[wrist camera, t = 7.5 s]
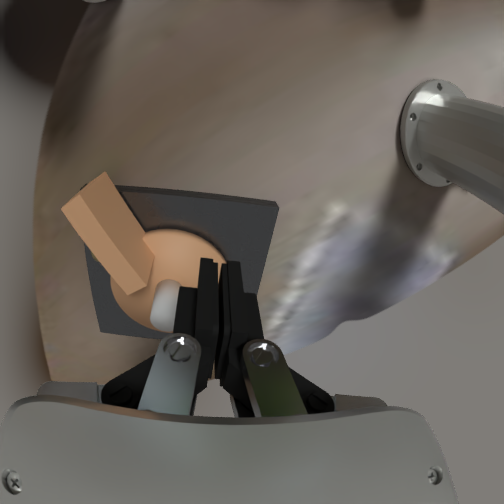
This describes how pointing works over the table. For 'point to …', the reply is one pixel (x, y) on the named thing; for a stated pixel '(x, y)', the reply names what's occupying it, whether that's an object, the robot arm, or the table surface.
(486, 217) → the table surface
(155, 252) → the wooden lever dial
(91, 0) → the drinking glass
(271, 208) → the base plate
